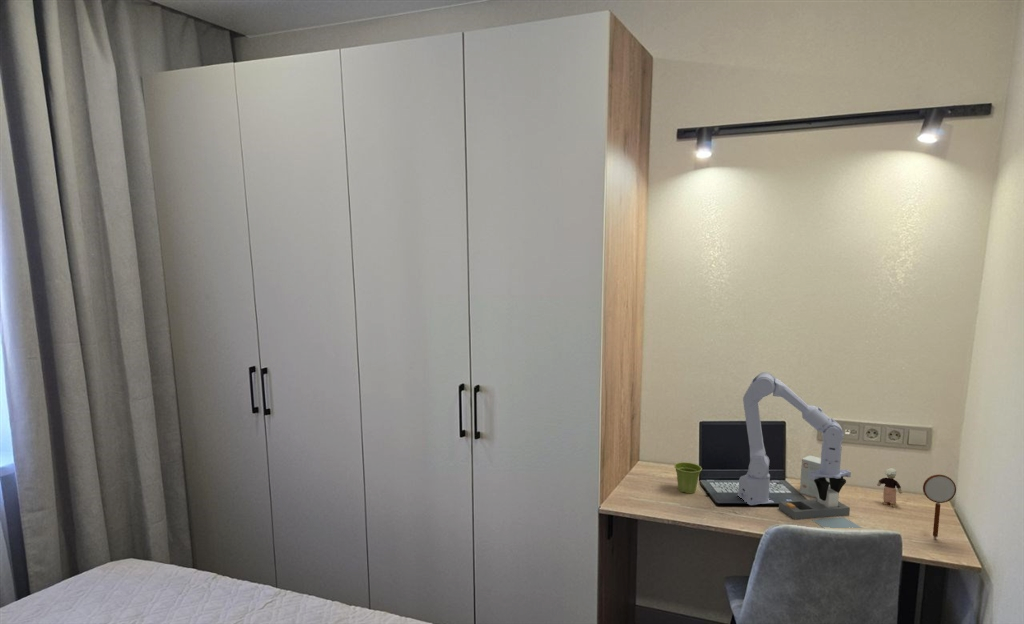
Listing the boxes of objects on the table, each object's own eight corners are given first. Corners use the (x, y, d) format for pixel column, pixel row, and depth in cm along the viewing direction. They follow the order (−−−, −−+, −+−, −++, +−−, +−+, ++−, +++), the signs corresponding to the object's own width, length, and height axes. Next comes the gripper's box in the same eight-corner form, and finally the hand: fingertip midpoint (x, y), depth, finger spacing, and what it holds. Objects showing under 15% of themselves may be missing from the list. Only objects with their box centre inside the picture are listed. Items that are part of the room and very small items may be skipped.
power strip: (794, 522, 188) (795, 510, 187) (778, 511, 195) (779, 499, 195) (849, 518, 192) (849, 505, 191) (831, 507, 199) (832, 496, 199)
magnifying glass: (920, 538, 177) (925, 474, 175) (917, 536, 179) (923, 472, 177) (952, 542, 175) (958, 477, 173) (949, 539, 177) (955, 475, 175)
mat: (834, 536, 178) (834, 534, 178) (811, 521, 188) (811, 519, 187) (868, 532, 180) (868, 531, 180) (843, 518, 190) (843, 517, 190)
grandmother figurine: (902, 505, 201) (905, 469, 199) (900, 509, 198) (903, 472, 197) (876, 499, 206) (879, 464, 205) (874, 502, 203) (876, 466, 202)
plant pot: (706, 494, 208) (707, 470, 207) (682, 496, 205) (683, 472, 204) (690, 484, 217) (692, 461, 216) (668, 486, 214) (669, 463, 213)
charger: (827, 514, 192) (829, 490, 191) (816, 507, 196) (818, 484, 196) (837, 513, 192) (839, 489, 192) (826, 507, 197) (827, 483, 196)
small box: (830, 496, 207) (833, 461, 206) (822, 501, 203) (825, 464, 202) (807, 489, 214) (809, 454, 212) (799, 493, 210) (801, 458, 208)
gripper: (820, 464, 187) (817, 505, 189) (859, 461, 190) (856, 502, 192) (805, 457, 194) (802, 496, 195) (842, 454, 197) (839, 493, 199)
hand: (827, 498), depth 194 cm, fingers closed on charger, 4 cm apart
